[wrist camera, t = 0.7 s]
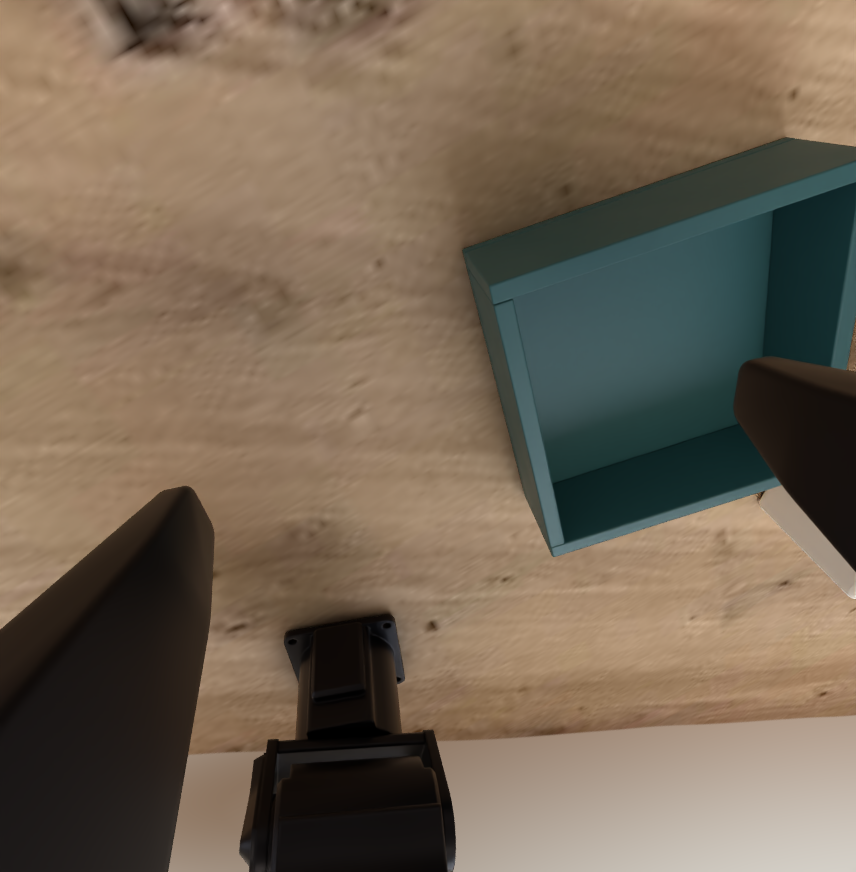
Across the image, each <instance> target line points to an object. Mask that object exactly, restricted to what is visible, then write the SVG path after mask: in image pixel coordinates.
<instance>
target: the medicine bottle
mask: <svg viewBox="0 0 856 872" xmlns="http://www.w3.org/2000/svg"><path fill="white" fill-rule="evenodd" d="M759 505H760V507H761V508H762V509H763V510H764V511H765V512H766V513H767V514H768V516H769V517H770V518H771V519H772V520H773V521H774V522H775V523H776V524H777V525H778V526H779V527H780V528H781V529H782V530H783V531H784V532H785V533H786V534H787V535H788V536H789V537H790V538H791V539H792V540H793V541H794V542H795V543H796V544H797V545H798V546H799V547H800V548H801V549H802V550H803V551H804V552H805V553H806V554H807V555H808V556H809V557H810V558H811V559H812V560H813V561H814V562H815V563H816V564H817V565H818V566H819V567H820V568H821V569H822V570H823V571H824V572H825V573H826V574H827V575H828V576H829V577H830V578H831V579H832V580H833V581H834V582H835V583H836V584H837V585H838V586H839V587H840V588H841V589H842V590H843V591H844V592H845V594H846V595H847V596H849V597H850V598H853V599H856V572H855V571H854V570H853V569H852V568H851V566H850V565H849V564H848V563H847V562H846V561H845V559H844V558H843V557H842V556H841V555H840V554H839V552H838V551H837V550H836V549H835V548H834V547H833V545H832V544H831V543H830V542H829V541H828V540H827V539H826V537H825V536H824V535H823V534H822V533H821V532H820V530H819V529H818V528H817V527H816V526H815V525H814V523H813V522H812V521H811V520H810V519H809V518H808V516H807V515H806V514H805V513H804V512H803V511H802V509H801V508H800V507H799V506H798V505H797V504H796V503H795V501H794V500H793V499H792V498H791V496H790V495H789V494H788V493H787V492H786V490H785V489H784V488H783V486H782V485H781V486H778V487H775V488H772V489H769V490H766V491H765V492H764V494H763V496H762V498H761V499H760V502H759Z"/></svg>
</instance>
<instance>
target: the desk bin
mask: <svg viewBox="0 0 856 872" xmlns="http://www.w3.org/2000/svg"><path fill="white" fill-rule="evenodd" d="M462 251H463V255H464V259H465V263H466V267H467V271H468V275H469V279H470V283H471V287H472V291H473V295H474V298H475V302H476V306H477V310H478V314H479V318H480V322H481V326H482V330H483V334H484V338H485V342H486V345H487V349H488V353H489V357H490V361H491V365H492V369H493V373H494V377H495V381H496V385H497V389H498V392H499V396H500V400H501V404H502V408H503V412H504V416H505V420H506V424H507V428H508V432H509V436H510V439H511V443H512V447H513V451H514V455H515V459H516V463H517V467H518V471H519V475H520V479H521V483H522V486H523V490H524V494H525V497H526V499H527V501H528V504H529V506H530V508H531V510H532V512H533V515H534V517H535V519H536V521H537V524H538V526H539V528H540V530H541V532H542V535H543V537H544V539H545V541H546V543H547V546H548V548H549V550H550V552H551V555H552V556H553V557H556V556H559V555H562V554H565V553H569V552H572V551H575V550H578V549H581V548H585V547H588V546H591V545H594V544H597V543H600V542H604V541H607V540H610V539H613V538H616V537H619V536H623V535H626V534H629V533H632V532H635V531H638V530H642V529H645V528H648V527H651V526H654V525H657V524H661V523H664V522H667V521H670V520H673V519H677V518H680V517H683V516H686V515H689V514H692V513H696V512H699V511H702V510H705V509H708V508H711V507H715V506H718V505H721V504H724V503H727V502H730V501H734V500H737V499H740V498H743V497H746V496H750V495H753V494H756V493H759V492H762V491H765V490H769V489H772V488H775V487H778V486H781V484H780V482H779V481H778V479H777V478H776V477H775V475H774V474H773V472H772V471H771V469H770V468H769V466H768V465H767V464H766V462H765V461H764V459H763V458H762V456H761V455H760V453H759V452H758V450H757V449H756V447H755V446H754V445H753V443H752V442H751V440H750V439H749V437H748V436H747V434H746V433H745V431H744V430H743V429H742V427H741V426H740V424H739V423H738V421H737V419H736V417H735V415H734V411H733V402H734V396H735V390H736V385H737V379H738V373H739V369H740V367H741V365H742V364H743V363H744V362H746V361H748V360H752V359H756V358H761V357H765V356H775V357H780V358H786V359H791V360H796V361H801V362H807V363H812V364H817V365H822V366H828V367H833V368H838V369H843V370H846V369H847V364H848V358H849V353H850V347H851V341H852V336H853V330H854V325H855V319H856V147H852V146H845V145H838V144H830V143H823V142H816V141H808V140H801V139H795V138H788V137H786V138H783V139H780V140H777V141H775V142H772V143H769V144H766V145H763V146H760V147H757V148H754V149H751V150H748V151H746V152H743V153H740V154H737V155H734V156H731V157H728V158H725V159H722V160H719V161H717V162H714V163H711V164H708V165H705V166H702V167H699V168H696V169H693V170H690V171H688V172H685V173H682V174H679V175H676V176H673V177H670V178H667V179H664V180H661V181H659V182H656V183H653V184H650V185H647V186H644V187H641V188H638V189H635V190H632V191H630V192H627V193H624V194H621V195H618V196H615V197H612V198H609V199H606V200H603V201H601V202H598V203H595V204H592V205H589V206H586V207H583V208H580V209H577V210H574V211H572V212H569V213H566V214H563V215H560V216H557V217H554V218H551V219H548V220H545V221H543V222H540V223H537V224H534V225H531V226H528V227H525V228H522V229H519V230H516V231H514V232H511V233H508V234H505V235H502V236H499V237H496V238H493V239H490V240H487V241H485V242H482V243H479V244H476V245H473V246H470V247H467V248H464V249H463V250H462Z"/></svg>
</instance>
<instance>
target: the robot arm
mask: <svg viewBox="0 0 856 872" xmlns="http://www.w3.org/2000/svg"><path fill="white" fill-rule="evenodd" d="M733 411H734V415H735V417H736V419H737V421H738V423H739V424H740V426H741V427H742V429H743V430H744V431H745V433H746V434H747V436H748V437H749V439H750V440H751V442H752V443H753V445H754V446H755V447H756V449H757V450H758V452H759V453H760V455H761V456H762V458H763V459H764V461H765V462H766V464H767V465H768V466H769V468H770V469H771V471H772V472H773V474H774V475H775V477H776V478H777V479H778V481H779V482H780V484H781V485H782V486H783V488H784V489H785V490H786V492H787V493H788V494H789V495H790V496H791V498H792V499H793V500H794V501H795V503H796V504H797V505H798V506H799V507H800V508H801V509H802V511H803V512H804V513H805V514H806V515H807V516H808V518H809V519H810V520H811V521H812V522H813V523H814V525H815V526H816V527H817V528H818V529H819V530H820V532H821V533H822V534H823V535H824V536H825V537H826V539H827V540H828V541H829V542H830V543H831V544H832V545H833V547H834V548H835V549H836V550H837V551H838V552H839V554H840V555H841V556H842V557H843V558H844V559H845V561H846V562H847V563H848V564H849V565H850V566H851V568H852V569H853V570H854V571H855V572H856V372H854V371H849V370H843V369H838V368H833V367H828V366H822V365H817V364H812V363H807V362H801V361H796V360H791V359H786V358H780V357H775V356H765V357H761V358H756V359H752V360H748V361H746V362H744V363H743V364H742V365H741V367H740V369H739V373H738V379H737V385H736V390H735V396H734V402H733ZM213 560H214V529H213V525H212V523H211V521H210V519H209V517H208V515H207V513H206V511H205V510H204V508H203V506H202V504H201V502H200V500H199V498H198V496H197V495H196V493H195V491H194V490H193V489H192V488H191V487H189V486H181V487H177V488H172V489H168V490H164V491H162V492H160V493H159V494H158V495H157V496H156V497H154V498H153V499H152V500H151V501H150V502H149V503H147V504H146V505H145V506H144V507H143V508H142V509H140V510H139V511H138V512H137V513H136V514H135V515H133V516H132V517H131V518H130V519H129V520H128V521H126V522H125V523H124V524H123V525H122V526H121V527H119V528H118V529H117V530H116V531H115V532H114V533H112V534H111V535H110V536H109V537H108V538H107V539H105V540H104V541H103V542H102V543H101V544H100V545H98V546H97V547H96V548H95V549H94V550H93V551H91V552H90V553H89V554H88V555H87V556H86V557H84V558H83V559H82V560H81V561H80V562H79V563H77V564H76V565H75V566H74V567H73V568H72V569H70V570H69V571H68V572H67V573H66V574H65V575H63V576H62V577H61V578H60V579H59V580H58V581H56V582H55V583H54V584H53V585H52V586H51V587H49V588H48V589H47V590H46V591H45V592H44V593H42V594H41V595H40V596H39V597H38V598H37V599H35V600H34V601H33V602H32V603H31V604H30V605H28V606H27V607H26V608H25V609H24V610H23V611H21V612H20V613H19V614H18V615H17V616H16V617H14V618H13V619H12V620H11V621H10V622H9V623H7V624H6V625H5V626H4V627H3V628H2V629H0V872H168V869H169V863H170V857H171V850H172V845H173V839H174V833H175V827H176V822H177V816H178V810H179V804H180V798H181V792H182V786H183V780H184V775H185V769H186V763H187V757H188V751H189V745H190V739H191V734H192V728H193V722H194V716H195V710H196V704H197V698H198V692H199V687H200V681H201V675H202V669H203V663H204V657H205V651H206V645H207V640H208V633H209V626H210V617H211V603H212V581H213ZM284 645H285V647H286V650H287V653H288V655H289V658H290V661H291V663H292V666H293V669H294V671H295V674H296V677H297V679H298V682H299V689H298V706H297V722H296V739H295V740H286V741H279V739H270V740H268V742H267V750H266V753H264V755H262V756H260V757H259V758H257V759H255V760H254V764H253V772H252V781H251V788H250V795H249V801H248V806H247V811H246V815H245V820H244V825H243V831H242V835H241V840H240V850H239V851H240V852H239V854H240V855H241V857H242V858H243V859H244V860H245V862H246V863H247V864H248V865H249V872H453V869H454V865H455V853H456V852H455V851H456V836H455V822H454V813H453V807H452V801H451V797H450V792H449V789H448V784H447V781H446V777H445V773H444V769H443V766H442V761H441V758H440V754H439V750H438V746H437V742H436V738H435V734H434V731H433V730H423V732H417V733H402V729H401V720H400V710H399V700H398V690H397V684H399V683H402V682H403V681H404V680H405V675H404V668H403V663H402V657H401V652H400V646H399V640H398V635H397V629H396V624H395V619H394V617H393V616H392V615H381V616H375V617H369V618H363V619H357V620H352V621H346V622H340V623H334V624H328V625H322V626H316V627H310V628H304V629H298V630H293V631H289V632H287V633H286V634H285V636H284Z"/></svg>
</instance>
